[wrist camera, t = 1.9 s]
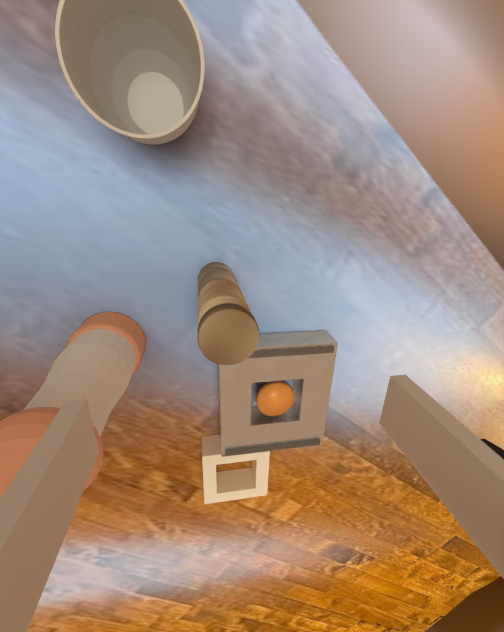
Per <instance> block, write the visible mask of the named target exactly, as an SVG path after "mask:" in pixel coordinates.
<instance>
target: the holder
mask: <svg viewBox="0 0 504 632" xmlns="http://www.w3.org/2000/svg"><path fill="white" fill-rule="evenodd" d="M223 455H224V454H223ZM269 455H270V451H268V452H258V453H249V454H242V455H235V456H233V455H232V456H226V457H223V456H222V455H221V443H220V434H218V435H208V436H202V464H203V483H204V502H205V504H209V503H216V502H223V501H230V500H236V499H243V498H250V497H257V496H264V495H267V487H268V471H269ZM250 460H252V467H251V468H243V469H235V470H228V471H220V472H216V465H218V464H226V463H234V462H242V461H250Z"/></svg>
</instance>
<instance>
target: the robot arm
mask: <svg viewBox="0 0 504 632" xmlns="http://www.w3.org/2000/svg"><path fill="white" fill-rule="evenodd" d="M380 424H381V426H382V427H383V428H384V429H385V431H386V432H387V433H388V434H389V436H390V437H391V438H392V439H393V441H394V442H395V443H396V444H397V446H398V447H399V448H400V449H401V451H402V452H403V453H404V454H405V456H406V457H407V458H408V459H409V461H410V462H411V463H412V464H413V466H414V467H415V468H416V469H417V471H418V472H419V473H420V475H421V476H422V477H423V478H424V480H425V481H426V482H427V483H428V485H429V486H430V487H431V488H432V490H433V491H434V492H435V493H436V495H437V496H438V497H439V498H440V500H441V501H442V502H443V503H444V505H445V506H446V507H447V508H448V510H449V511H450V512H451V513H452V515H453V516H454V517H455V518H456V520H457V521H458V522H459V524H460V525H461V526H462V527H463V529H464V530H465V531H466V532H467V534H468V535H469V536H470V537H471V539H472V540H473V541H474V542H475V544H476V545H477V546H478V547H479V549H480V550H481V551H482V552H483V554H484V555H485V556H486V557H487V559H488V560H489V561H490V562H491V564H492V565H493V566H494V568H495V569H496V570H497V571H498V573H499V574H500V575H501V576H502V577H503V579H504V450H503V449H501V448H500V447H498V446H496V445H494V444H493V443H491V442H489V441H487V440H486V439H479V438H478V437H477V436H476V435H475V434H473V433H472V432H471V431H470V430H469V429H468V428H466V427H465V426H464V425H463V424H462V423H461V422H459V421H458V420H457V419H456V418H455V417H454V416H453V415H451V414H450V413H449V412H448V411H447V410H446V409H444V408H443V407H442V406H441V405H440V404H439V403H437V402H436V401H435V400H434V399H433V398H432V397H430V396H429V395H428V394H427V393H426V392H425V391H424V390H422V389H421V388H420V387H419V386H418V385H417V384H415V383H414V382H413V381H412V380H411V379H410V378H408V377H407V376H406V375H397V376H390V380H389V384H388V389H387V393H386V397H385V401H384V406H383V410H382V414H381V418H380ZM98 453H99V450H98V446H97V441H96V437H95V432H94V428H93V424H92V419H91V415H90V410H89V406H88V402H87V399H84V400H71V401H65V403H64V404H63V406H62V407H61V409H60V410H59V412H58V413H57V415H56V416H55V418H54V419H53V421H52V422H51V424H50V425H49V427H48V428H47V430H46V431H45V433H44V434H43V436H42V437H41V439H40V440H39V442H38V443H37V445H36V446H35V448H34V449H33V451H32V452H31V454H30V455H29V457H28V458H27V460H26V461H25V463H24V464H23V466H22V467H21V469H20V470H19V472H18V473H17V475H16V476H15V478H14V479H13V481H12V482H11V484H10V485H9V487H8V488H7V490H6V491H5V493H4V494H3V496H2V497H1V498H0V632H27V629H28V627H29V624H30V622H31V619H32V617H33V614H34V612H35V609H36V607H37V604H38V602H39V599H40V597H41V595H42V592H43V590H44V587H45V585H46V582H47V580H48V577H49V575H50V572H51V570H52V567H53V565H54V562H55V560H56V557H57V555H58V552H59V550H60V547H61V545H62V542H63V540H64V538H65V535H66V533H67V530H68V528H69V525H70V523H71V520H72V518H73V515H74V513H75V510H76V508H77V505H78V503H79V500H80V498H81V495H82V493H83V490H84V488H85V485H86V483H87V481H88V478H89V476H90V473H91V471H92V468H93V466H94V463H95V461H96V458H97V456H98Z"/></svg>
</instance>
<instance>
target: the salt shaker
mask: <svg viewBox="0 0 504 632" xmlns="http://www.w3.org/2000/svg"><path fill="white" fill-rule="evenodd" d="M145 343H146V339H145V336H144V333H143V330H142V329H141V328H140V326H139V325H138V323H137V322H135V321H134V320H132V319H131V318H130V317H128V316H125V315H123V314H120V313H115V312H103V313H98V314H95V315H93V316H91V317H89V318H88V319H87V320H86V321H85V322H84V323H83V324H82V325H81V326H80V327H79V328H78V329H77V331H76V332H75V333H74V334H73V335H72V336H71V337H70V338H69V340H68V343H67V346H66V348H65V349H64V350H63V351H62V353H61V354H60V355H59V356H58V357H57V358H56V359H55V361H54V363H53V365H52V367H51V369H50V371H49V373H48V375H47V377H46V379H45V381H44V383H43V385H42V387H41V388H40V389H39V391H38V392H37V393H36V394H35V396H34V397H33V398H32V399H31V401H30V402H29V403H28V404H27V406H26V407H25V408H24V409H23V410H21V411H19V412H16V413H14V414H12V415H10V416H8V417H6V418H4V419H2V420H1V421H0V498H1V497H2V496H3V494H4V493H5V491H6V490H7V488H8V487H9V485H10V484H11V482H12V481H13V479H14V478H15V476H16V475H17V473H18V472H19V470H20V469H21V467H22V466H23V464H24V463H25V461H26V460H27V458H28V457H29V455H30V454H31V452H32V451H33V449H34V448H35V446H36V445H37V443H38V442H39V440H40V439H41V437H42V436H43V434H44V433H45V431H46V430H47V428H48V427H49V425H50V424H51V422H52V421H53V419H54V418H55V416H56V415H57V413H58V412H59V410H60V409H61V407H62V406H63V404H64V403H65V401H71V400H84V399H87V402H88V406H89V410H90V415H91V419H92V424H93V428H94V432H95V437H96V441H97V446H98V450H99V453H98V456H97V458H96V461H95V463H94V466H93V468H92V471H91V473H90V476H89V478H88V481H87V483H86V485H85V488H84V490H85V489H86V488H87V487H88V486H89V485H90V484H92V482H93V481H94V479H95V478H96V477H97V475H98V473H99V471H100V469H101V467H102V465H103V443H102V440H101V438H100V436H101V433H102V431H103V429H104V426H105V424H106V422H107V419H108V417H109V415H110V413H111V411H112V410H113V408H114V407H115V405H116V404H117V402H118V401H119V400H120V398H121V397H122V395H123V394H124V392H125V391H126V389H127V387H128V385H129V382H130V380H131V376H132V375H133V374H134V373H135V372H136V370H137V368H138V366H139V364H140V362H141V359H142V356H143V353H144V350H145ZM84 490H83V491H84Z"/></svg>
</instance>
